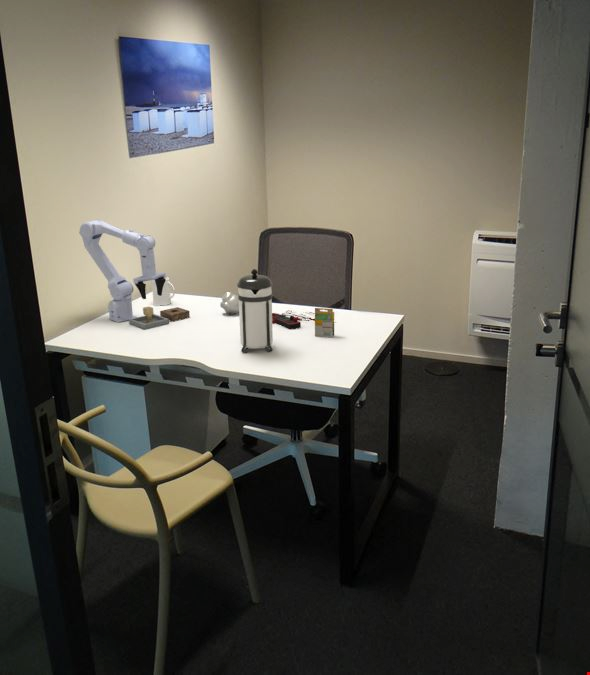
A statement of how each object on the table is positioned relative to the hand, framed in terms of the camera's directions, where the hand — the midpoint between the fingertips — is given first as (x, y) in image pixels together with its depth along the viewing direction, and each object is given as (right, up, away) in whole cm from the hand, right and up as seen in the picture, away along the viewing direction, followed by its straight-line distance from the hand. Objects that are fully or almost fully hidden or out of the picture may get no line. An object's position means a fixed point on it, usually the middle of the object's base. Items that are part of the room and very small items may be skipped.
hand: (152, 297), depth 287 cm
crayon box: (+72, -17, -20) cm, 77 cm away
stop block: (+9, -8, +7) cm, 14 cm away
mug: (0, -2, +30) cm, 30 cm away
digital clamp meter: (+62, -11, +1) cm, 63 cm away
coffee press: (+46, -21, -33) cm, 60 cm away
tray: (-1, -11, -1) cm, 11 cm away
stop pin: (-1, -11, -2) cm, 11 cm away
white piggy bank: (+33, -7, +12) cm, 36 cm away
